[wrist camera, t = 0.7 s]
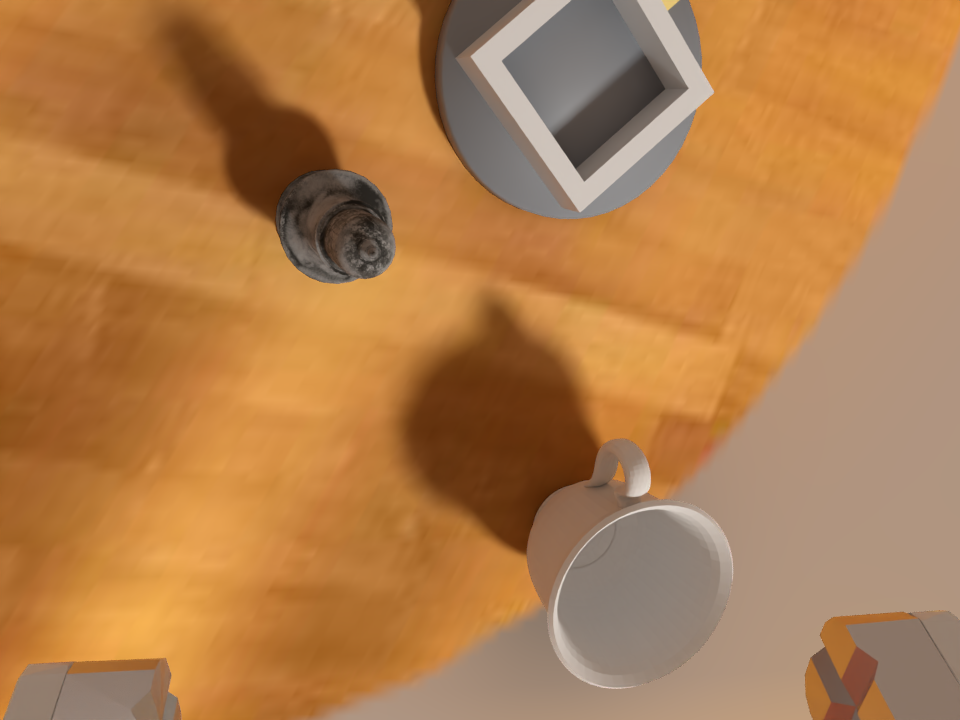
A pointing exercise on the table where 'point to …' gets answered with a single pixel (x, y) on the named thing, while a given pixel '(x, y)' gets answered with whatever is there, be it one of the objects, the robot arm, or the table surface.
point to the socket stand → (568, 97)
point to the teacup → (627, 574)
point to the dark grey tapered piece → (335, 226)
